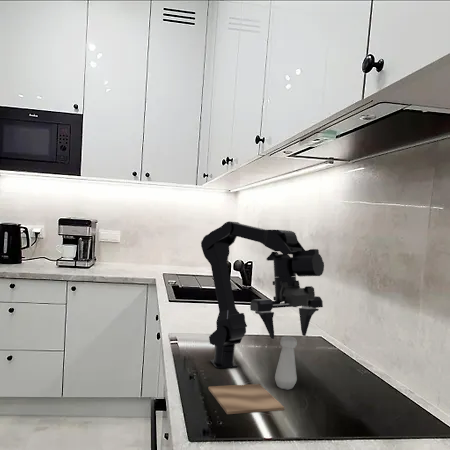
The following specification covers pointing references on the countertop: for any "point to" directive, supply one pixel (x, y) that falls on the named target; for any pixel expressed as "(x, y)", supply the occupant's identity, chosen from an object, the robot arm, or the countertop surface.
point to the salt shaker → (286, 364)
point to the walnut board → (245, 398)
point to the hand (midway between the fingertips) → (288, 337)
